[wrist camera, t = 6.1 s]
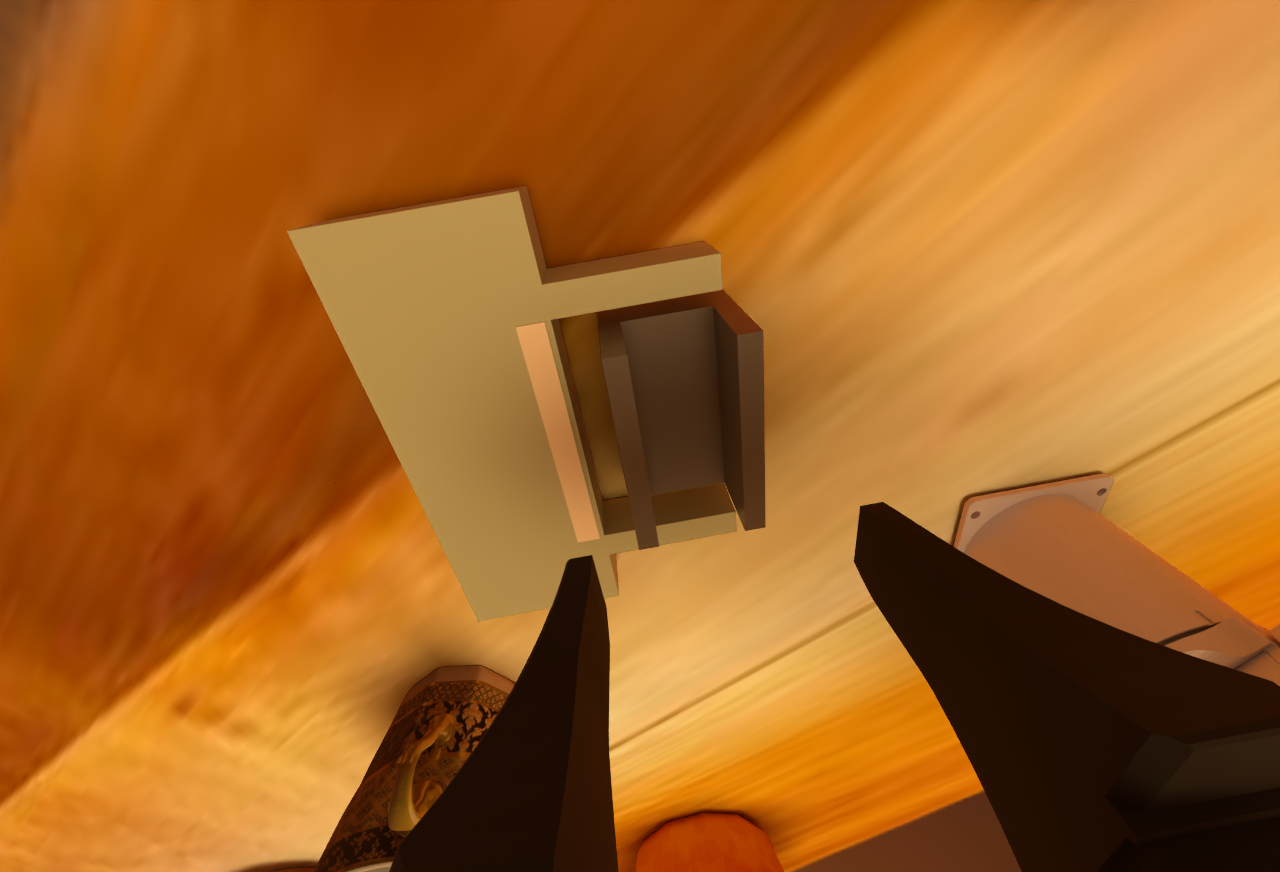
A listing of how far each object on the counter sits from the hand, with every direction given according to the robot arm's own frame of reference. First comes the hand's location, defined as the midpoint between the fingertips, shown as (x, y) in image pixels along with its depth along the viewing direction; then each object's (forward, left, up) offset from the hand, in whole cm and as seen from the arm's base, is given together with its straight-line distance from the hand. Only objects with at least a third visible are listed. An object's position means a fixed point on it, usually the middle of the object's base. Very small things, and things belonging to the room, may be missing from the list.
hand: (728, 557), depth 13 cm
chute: (0, 0, -10) cm, 10 cm away
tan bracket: (0, +4, -10) cm, 11 cm away
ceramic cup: (-17, +15, -10) cm, 25 cm away
